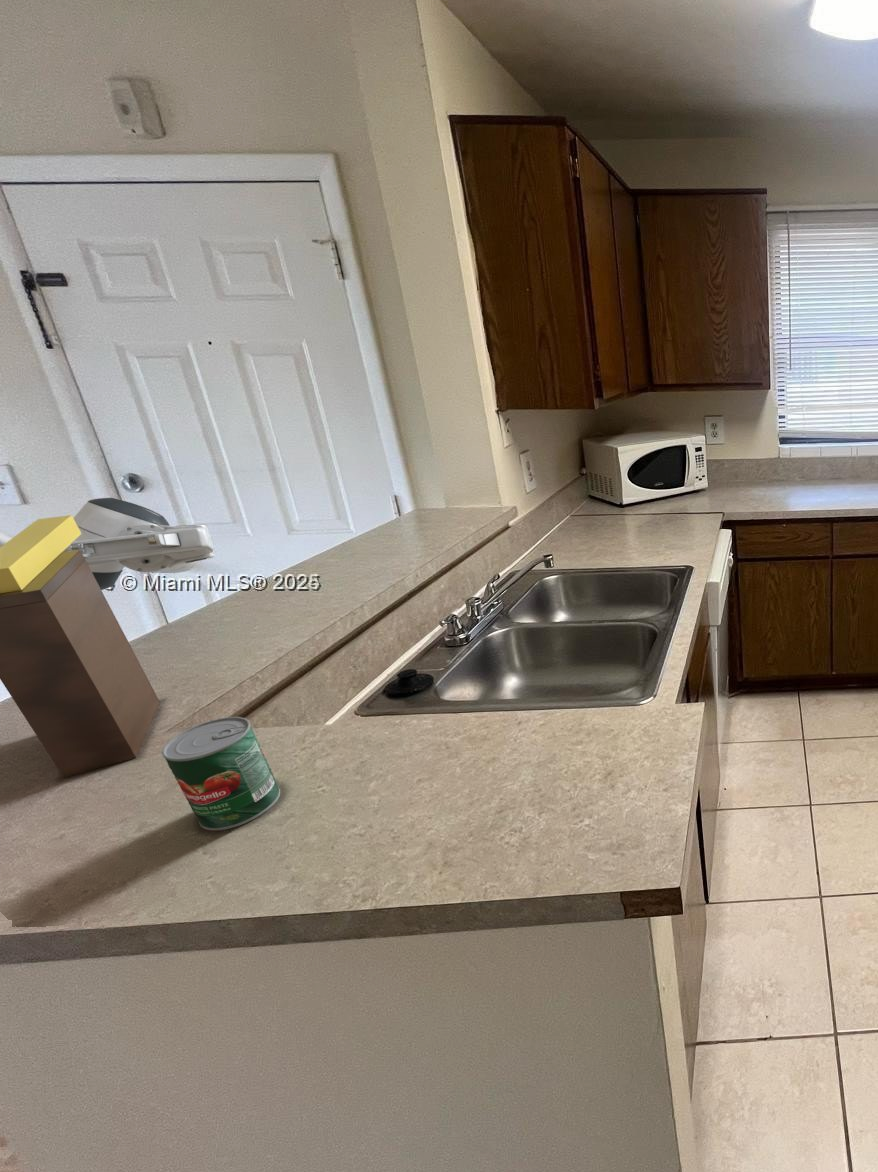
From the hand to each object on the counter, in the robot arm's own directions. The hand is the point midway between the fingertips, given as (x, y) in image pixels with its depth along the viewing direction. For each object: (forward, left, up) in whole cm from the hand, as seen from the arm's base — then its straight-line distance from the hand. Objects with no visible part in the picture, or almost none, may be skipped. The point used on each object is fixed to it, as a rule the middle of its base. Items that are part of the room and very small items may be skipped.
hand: (114, 544), depth 101 cm
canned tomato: (+15, -54, -22) cm, 60 cm away
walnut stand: (-2, -26, -21) cm, 34 cm away
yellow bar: (-2, -21, +5) cm, 22 cm away
